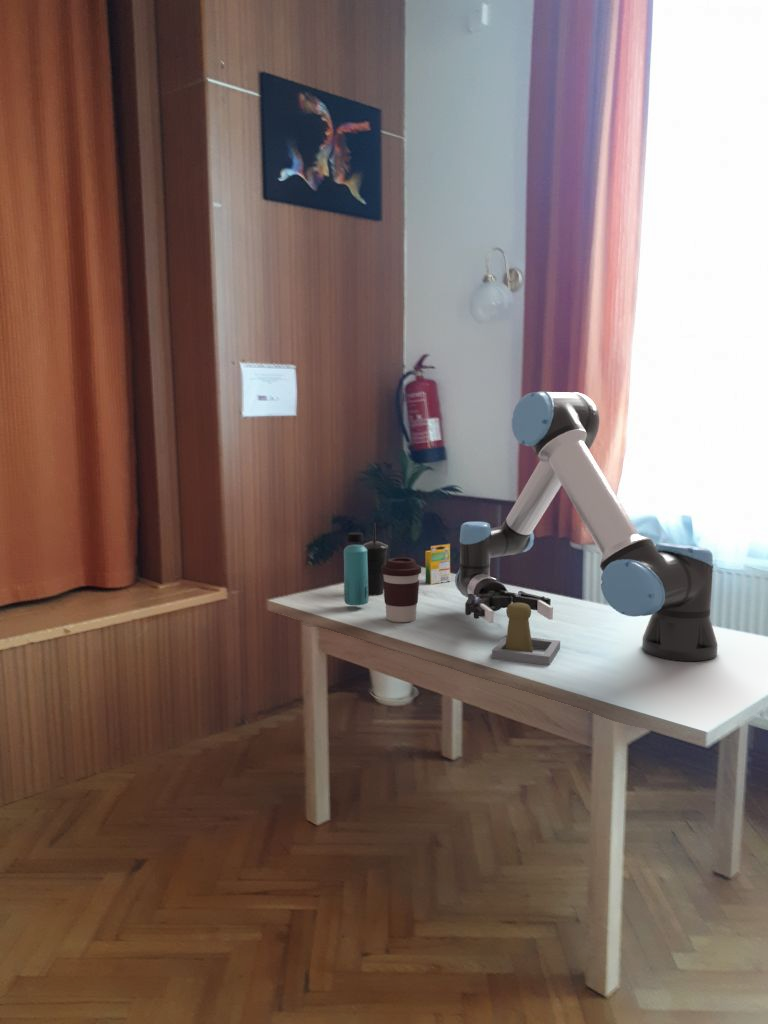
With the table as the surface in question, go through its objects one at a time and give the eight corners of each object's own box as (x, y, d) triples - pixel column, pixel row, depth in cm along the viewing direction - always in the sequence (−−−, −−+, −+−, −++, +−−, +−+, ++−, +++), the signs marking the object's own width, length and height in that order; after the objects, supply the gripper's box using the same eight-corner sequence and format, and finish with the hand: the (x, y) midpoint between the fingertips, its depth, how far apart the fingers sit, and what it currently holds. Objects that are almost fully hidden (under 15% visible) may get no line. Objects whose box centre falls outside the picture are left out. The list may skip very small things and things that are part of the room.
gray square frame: (560, 648, 174) (560, 640, 174) (549, 665, 163) (549, 656, 163) (505, 642, 178) (506, 635, 178) (491, 658, 167) (492, 650, 167)
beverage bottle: (368, 611, 207) (367, 534, 204) (342, 611, 207) (341, 534, 204) (369, 604, 213) (368, 530, 210) (344, 604, 213) (343, 530, 211)
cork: (539, 655, 169) (539, 604, 168) (515, 659, 166) (515, 608, 165) (522, 648, 174) (522, 599, 173) (498, 652, 172) (498, 602, 170)
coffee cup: (381, 624, 194) (380, 563, 192) (381, 614, 204) (381, 556, 202) (421, 624, 194) (422, 563, 192) (420, 614, 204) (420, 556, 202)
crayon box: (444, 580, 243) (444, 542, 242) (450, 581, 241) (450, 543, 239) (424, 582, 239) (425, 544, 238) (430, 584, 237) (430, 546, 235)
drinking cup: (389, 590, 230) (389, 521, 227) (386, 596, 222) (386, 525, 219) (363, 589, 230) (362, 521, 228) (359, 596, 223) (359, 525, 220)
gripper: (535, 605, 196) (574, 628, 175) (437, 611, 190) (466, 636, 170) (536, 575, 195) (575, 595, 174) (438, 580, 189) (466, 601, 169)
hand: (521, 615), depth 172 cm, fingers open, 13 cm apart
